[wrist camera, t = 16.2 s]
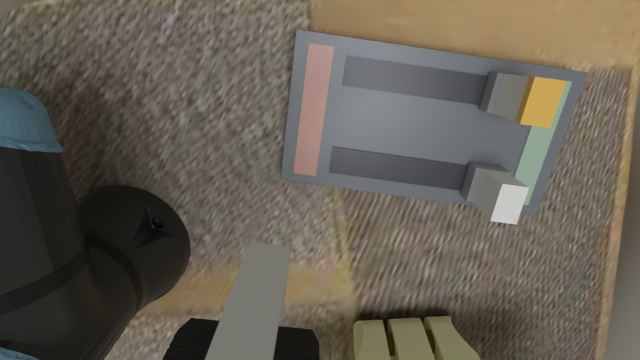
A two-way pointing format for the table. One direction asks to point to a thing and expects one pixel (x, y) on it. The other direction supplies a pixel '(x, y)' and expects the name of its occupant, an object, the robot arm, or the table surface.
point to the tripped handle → (522, 98)
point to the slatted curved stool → (410, 340)
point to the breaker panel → (417, 125)
